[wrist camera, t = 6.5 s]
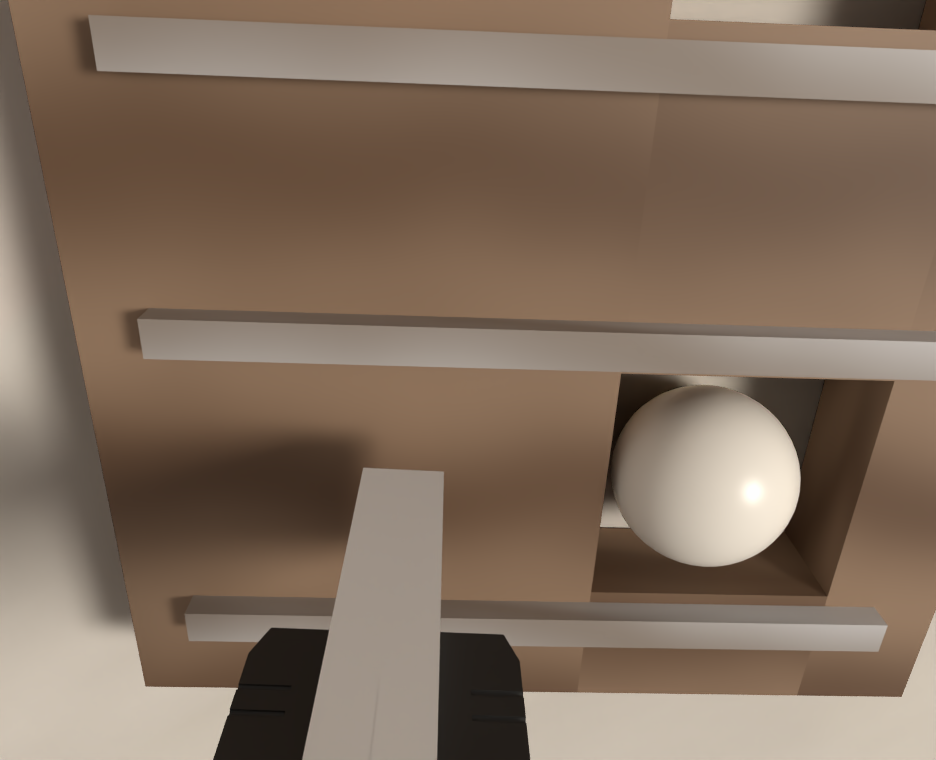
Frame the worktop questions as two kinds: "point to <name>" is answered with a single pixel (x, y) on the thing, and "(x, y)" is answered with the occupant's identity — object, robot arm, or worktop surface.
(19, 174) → the worktop surface
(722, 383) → the worktop surface
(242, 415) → the hole deck
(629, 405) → the worktop surface
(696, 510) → the cream ball
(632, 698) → the worktop surface
